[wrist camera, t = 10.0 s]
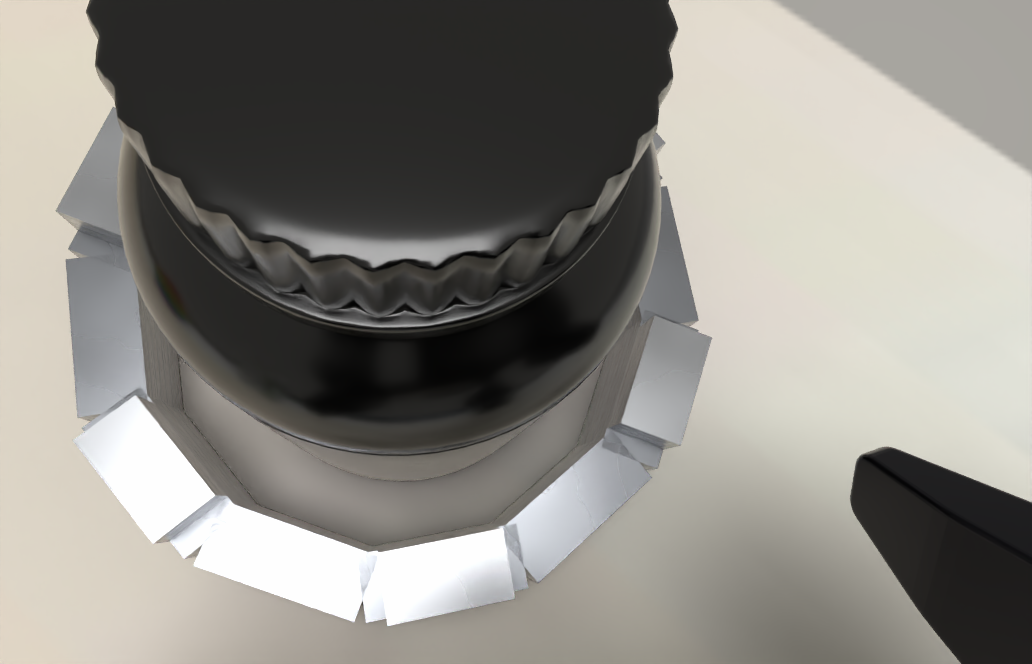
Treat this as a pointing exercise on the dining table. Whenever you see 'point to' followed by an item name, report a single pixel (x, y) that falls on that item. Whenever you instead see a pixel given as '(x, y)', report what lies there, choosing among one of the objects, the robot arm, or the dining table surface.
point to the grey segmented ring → (311, 549)
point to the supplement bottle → (389, 207)
